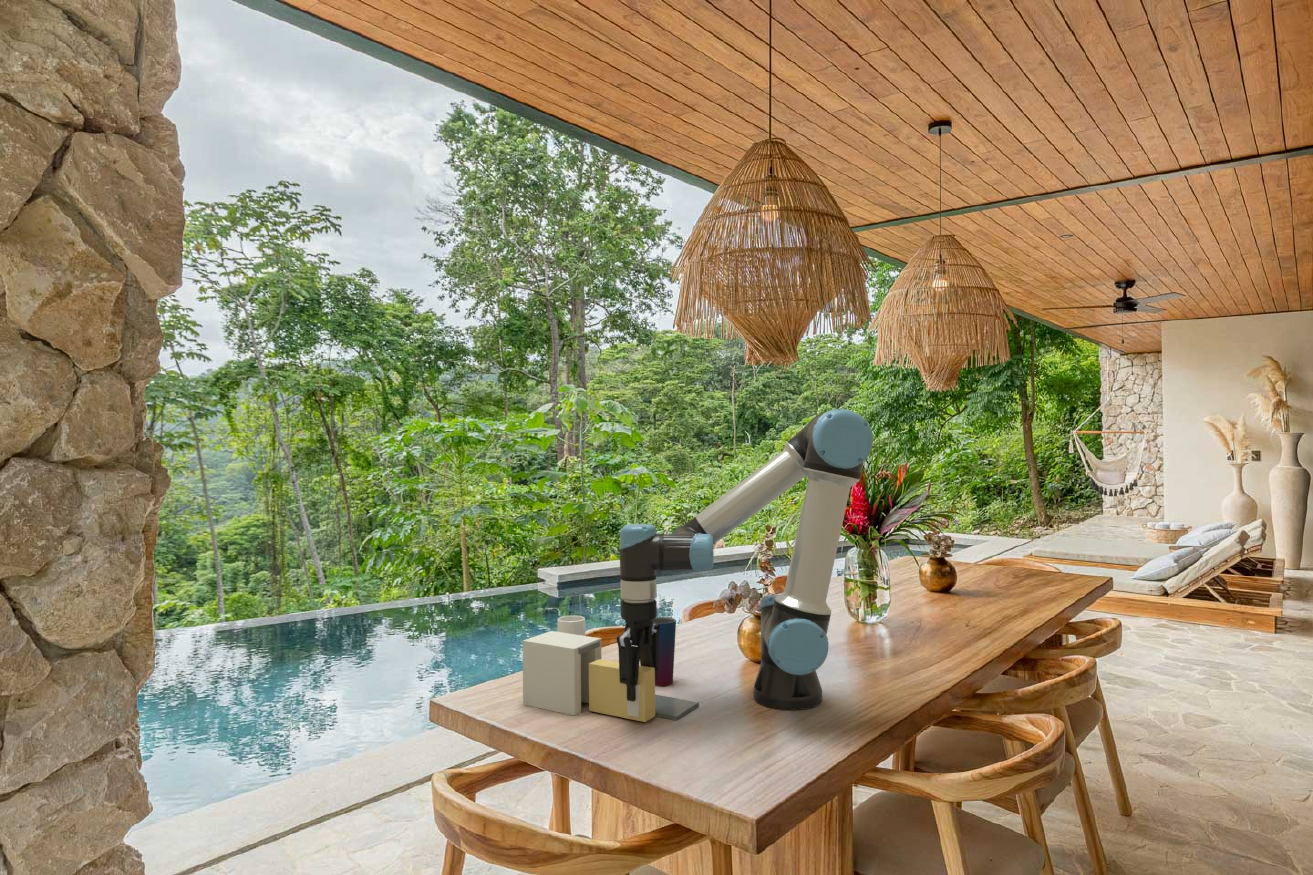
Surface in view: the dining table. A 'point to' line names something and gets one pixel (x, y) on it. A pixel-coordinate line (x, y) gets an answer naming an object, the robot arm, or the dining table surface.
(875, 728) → the dining table surface
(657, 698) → the slate pad
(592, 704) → the yellow rectangular block
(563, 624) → the drinking glass
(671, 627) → the cup
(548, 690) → the box
